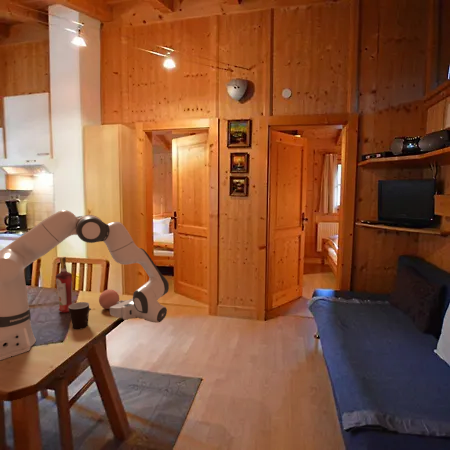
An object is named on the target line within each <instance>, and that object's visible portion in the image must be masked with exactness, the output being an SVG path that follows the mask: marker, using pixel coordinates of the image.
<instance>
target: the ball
mask: <svg viewBox="0 0 450 450" xmlns="http://www.w3.org/2000/svg"><path fill="white" fill-rule="evenodd" d="M118 301H120V295H119V293H118V292H117V291H116V290H114V289H110V288H109V289H105V290H104V291H102V292H101V294H100V295H99V297H98V302H99V305H100V306H101V307H102V308H103V309H105V310H110V307H111V306H114V305H116V304H117V302H118Z"/></svg>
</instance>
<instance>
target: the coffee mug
mask: <svg viewBox="0 0 450 450" xmlns="http://www.w3.org/2000/svg"><path fill="white" fill-rule="evenodd" d="M89 308H90V303H89V302H86V301H80V302H74V303H72V304H71V305H70V306H69V312H68V313H69V318H70V321H71V326H72V329H73V330H77V331H78V330H80V331H81V330H83V329H86V328H87V327H88V326H89V314H90V313H89V312H90V310H89Z"/></svg>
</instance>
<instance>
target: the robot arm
mask: <svg viewBox="0 0 450 450" xmlns="http://www.w3.org/2000/svg"><path fill="white" fill-rule="evenodd" d="M74 235H75V236H78V238H79V239H80V240H81V241H83V242H84V243H88V244H90V243H91V244H93V243H100V242H103V243H104V244H105V245H106V248H107V249H108V251H109V253H110V256H111V258H112V259H113V260H114V261H115V262H116V263H117V264H120V265H132V264H139V265H140V266H141V267H142V268H143V270H144V271H145V273H146V274H147V276H148V278H149V279H148V281H146V282H144V283H143V284H142V285H141V286H139V288H137V289H136V290H134V291H133V293H132V298H129V299H128V300H126V299H125V300H124V299H121V300H119V301H118V302H117V304H116V305H114V306H111V307H110V309H109V315H110V316H113V317H114V318H115V317H116V318H119V319H122V320H124V321H127V320H131V319H142V320H145V321H146V322H150V323H161V322H162V321H163V320H165V318H166V316H167V314H168V313H167V312H168V309H167V307H166V306H164V305H163V304H161V303H160V302H159V301H158V300H159V299H160V298H162V297H164V296H165V295H166V294H167V293H168V292H169V290H170V289H169V287H170V286H169V281H168V280H167V278H166V277H165V276H164V275H163V274H162V272H161V271H160V270H159V268H158V267H157V265H156V264H155V262H154V261H153V260H152V258H151V256H150V255H149V254H148V253H147V252H146V250H145V249H143V248H140V247H138V246H137V244H136V243H135V241H134V239H133V237H132V236H131V234H130V233H129V231H128V229H127V228H126V226H125V225H124V224H123V223H121V222H120V221H111V222H109V223H105V222H104V221H103V220H102V219H101V218H100V217H98V216H97V215H93V214H86V215H80V216H76V215H75V214H74V213H73V212H71V211H70V210H66V209H61V210H60V211H57V212H55V213H52V214H51V215H49V216H48V217H46V218H45V219H44V220H42V221H40V222H39V223H38V224H37V225H35V226H34V227H32V228H31V229H30V230H28V231H27V232H25V233H24V234H22V235H21V236H19V237H18V238H17V239H15V240H13V241H12V242H11V243H10V244H7V246H4V247H3V248H2V249H0V361H3V360H5V359H8V358H12V357H14V356H17V355H21V354H23V353H26V352H28V351H30V350H31V347H33V345H35V343H36V340H37V339H36V338H35V335H34V332H33V330H32V325H31V324H32V323H31V316H32V315H31V309H30V307H29V297H28V289H27V285H26V284H27V283H26V279H25V269H26V268H27V267H28V266H29V265H31V264H32V263H34V262H35V261H37V260H39V259H40V258H41V257H44V256H46V255H47V254H48V253H49V252H50V251H52V250H53V249H54V248H55V247H57V246H58V245H60V244H61V243H63V241H65V240H66V239H67V238H69V237H71V236H74ZM11 356H12V357H11Z"/></svg>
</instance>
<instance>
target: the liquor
mask: <svg viewBox="0 0 450 450" xmlns="http://www.w3.org/2000/svg"><path fill="white" fill-rule="evenodd" d="M59 262H60V270H59V273H57V274H55V279H56V288H57V297H58V306H59V307H58V311H59V312H60V313H62V314H63V313H64V314H65V313H66V314H67V313H70V312H69V306H70V305H71V304H73V273H71V272H69V271H68V268H67V257H66V256H60V257H59Z"/></svg>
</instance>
